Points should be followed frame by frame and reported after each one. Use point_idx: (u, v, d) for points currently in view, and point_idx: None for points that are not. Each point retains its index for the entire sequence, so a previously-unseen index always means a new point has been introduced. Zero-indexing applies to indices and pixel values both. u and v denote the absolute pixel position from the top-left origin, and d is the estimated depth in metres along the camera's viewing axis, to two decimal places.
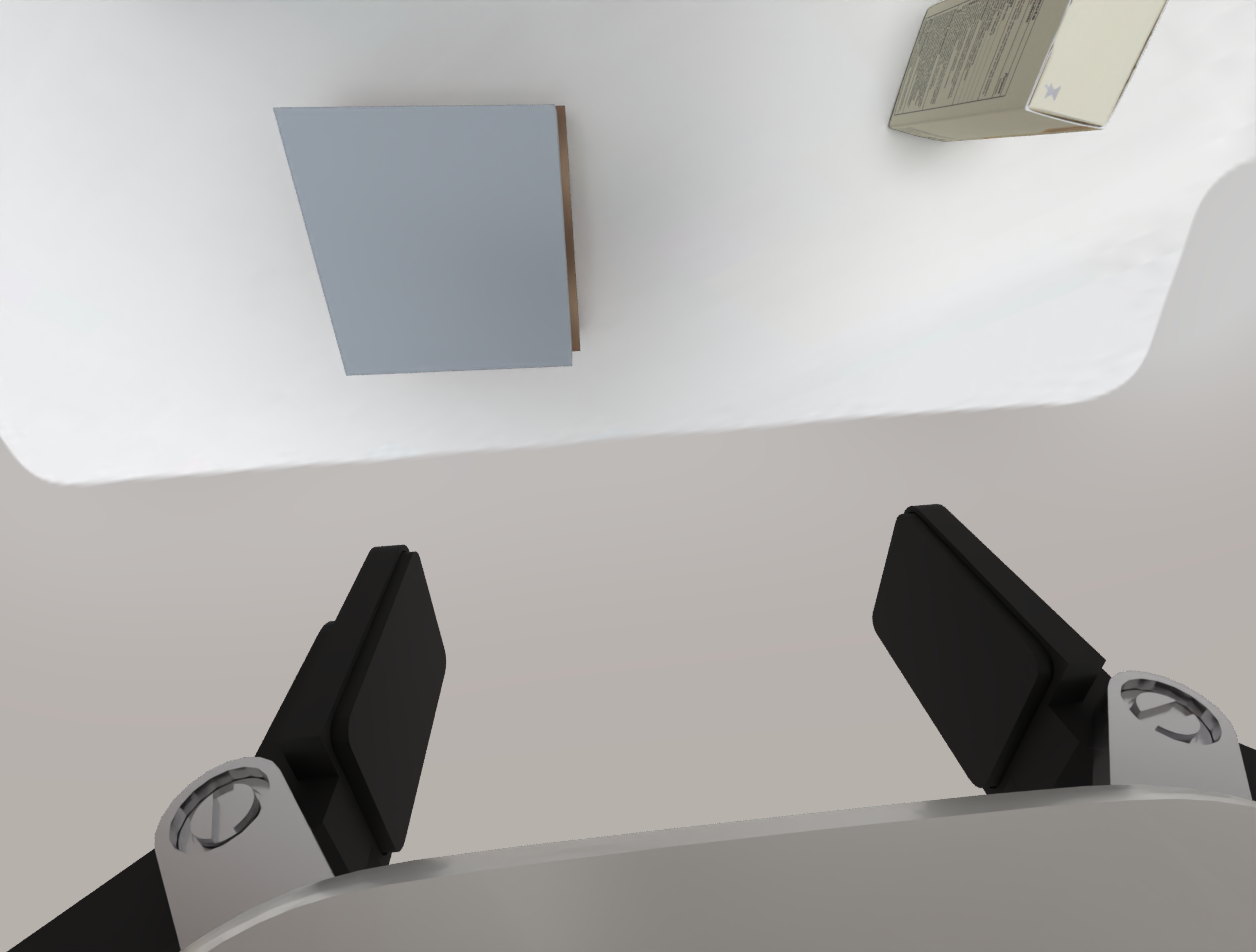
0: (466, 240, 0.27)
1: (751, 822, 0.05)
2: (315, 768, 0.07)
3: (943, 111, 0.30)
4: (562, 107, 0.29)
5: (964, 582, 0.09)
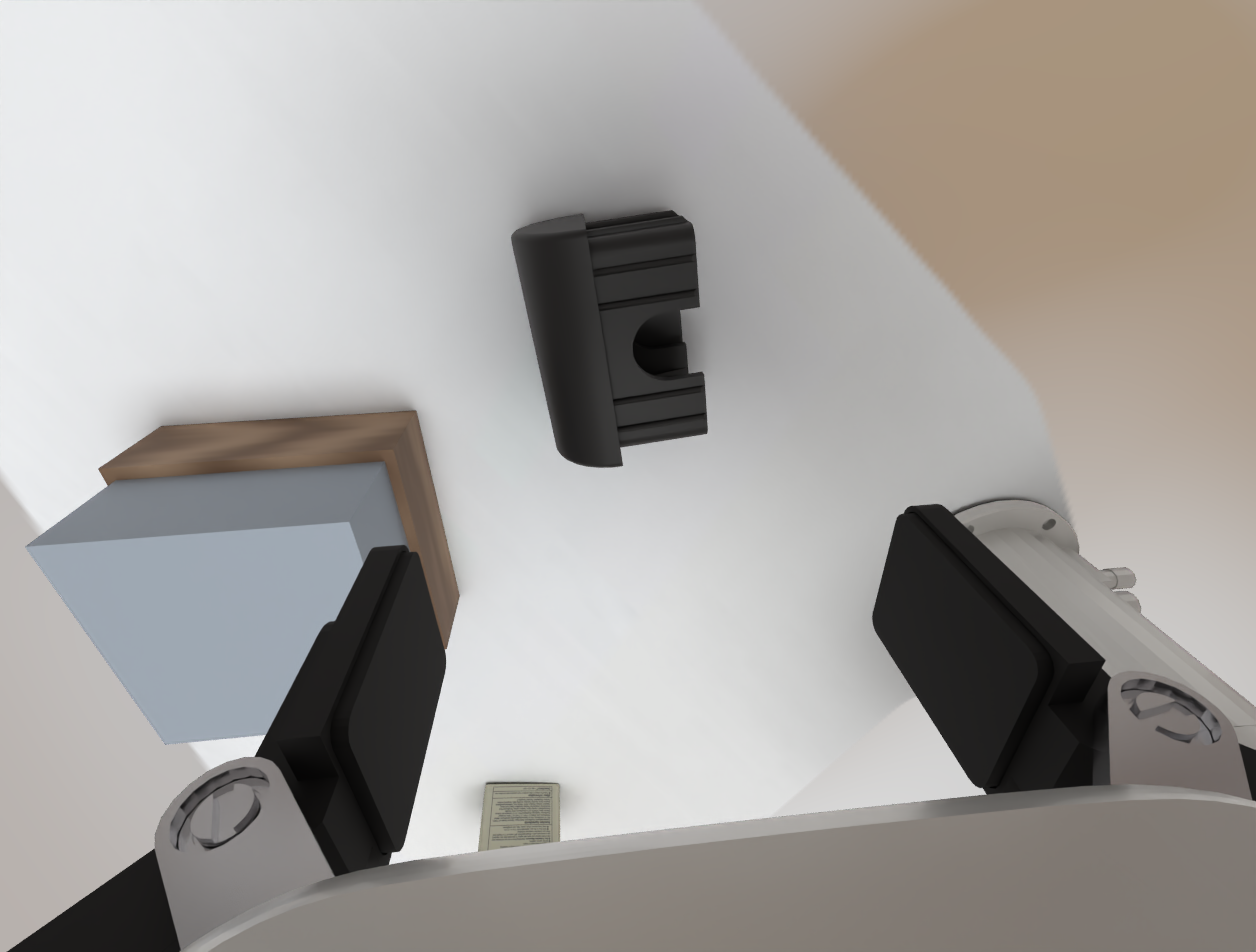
0: (270, 664, 0.26)
1: (751, 822, 0.05)
2: (315, 768, 0.07)
3: None
4: (444, 647, 0.33)
5: (964, 582, 0.09)
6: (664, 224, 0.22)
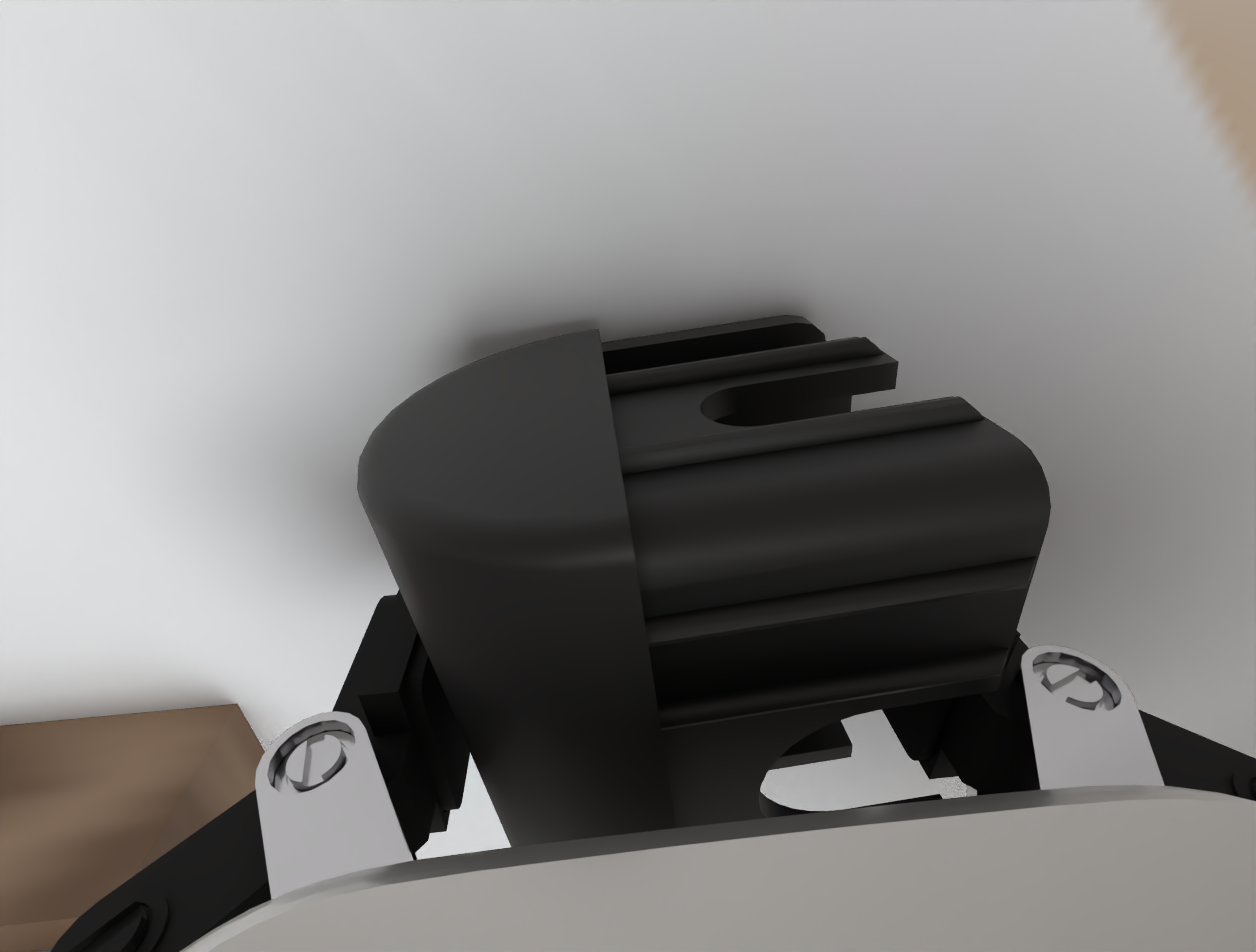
0: None
1: (751, 822, 0.05)
2: (391, 723, 0.07)
3: None
4: None
5: None
6: (900, 429, 0.06)
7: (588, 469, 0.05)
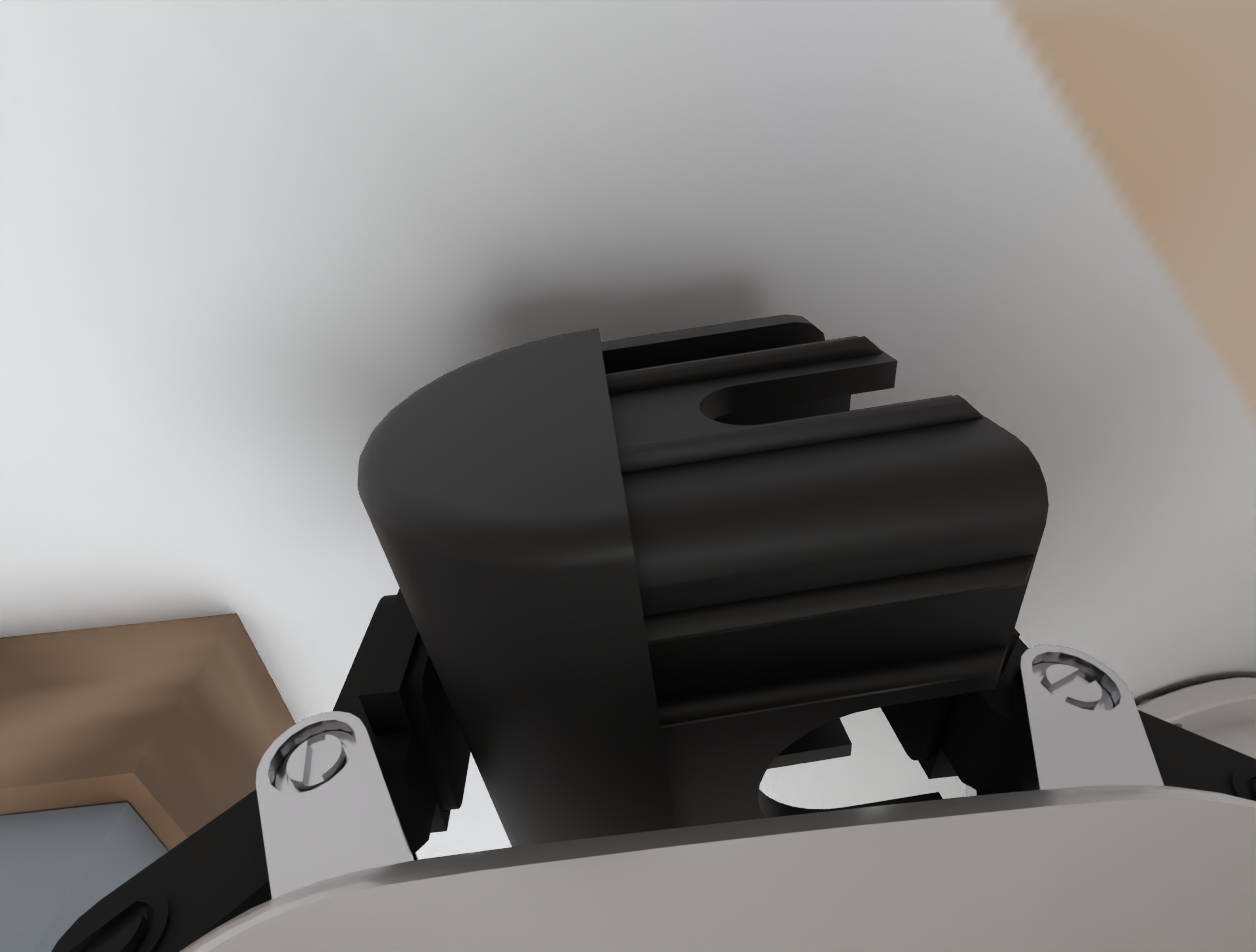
0: None
1: (751, 822, 0.05)
2: (392, 723, 0.07)
3: None
4: None
5: None
6: (899, 427, 0.06)
7: (588, 467, 0.05)
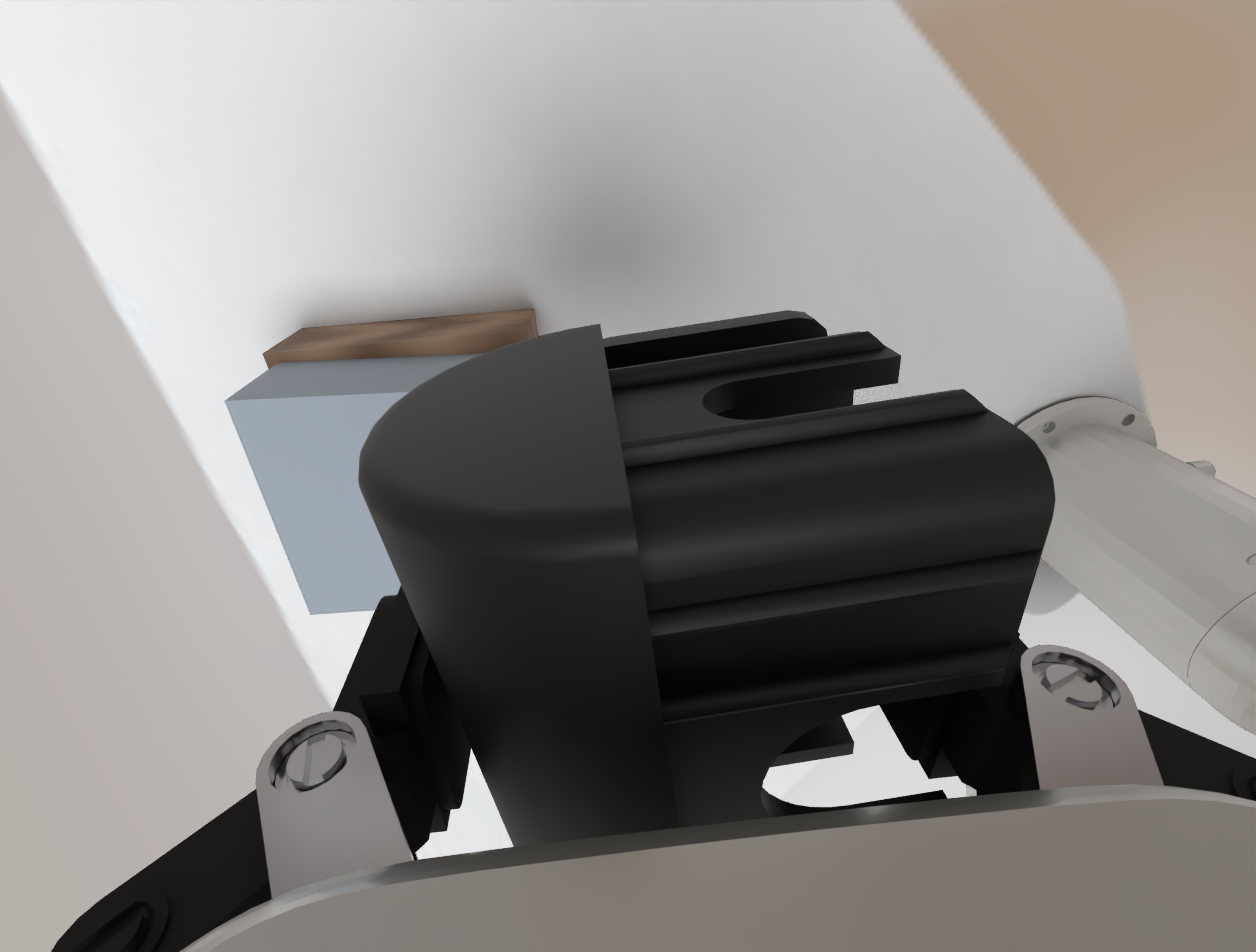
0: None
1: (751, 822, 0.05)
2: (391, 723, 0.07)
3: None
4: None
5: None
6: (903, 421, 0.06)
7: (591, 461, 0.05)
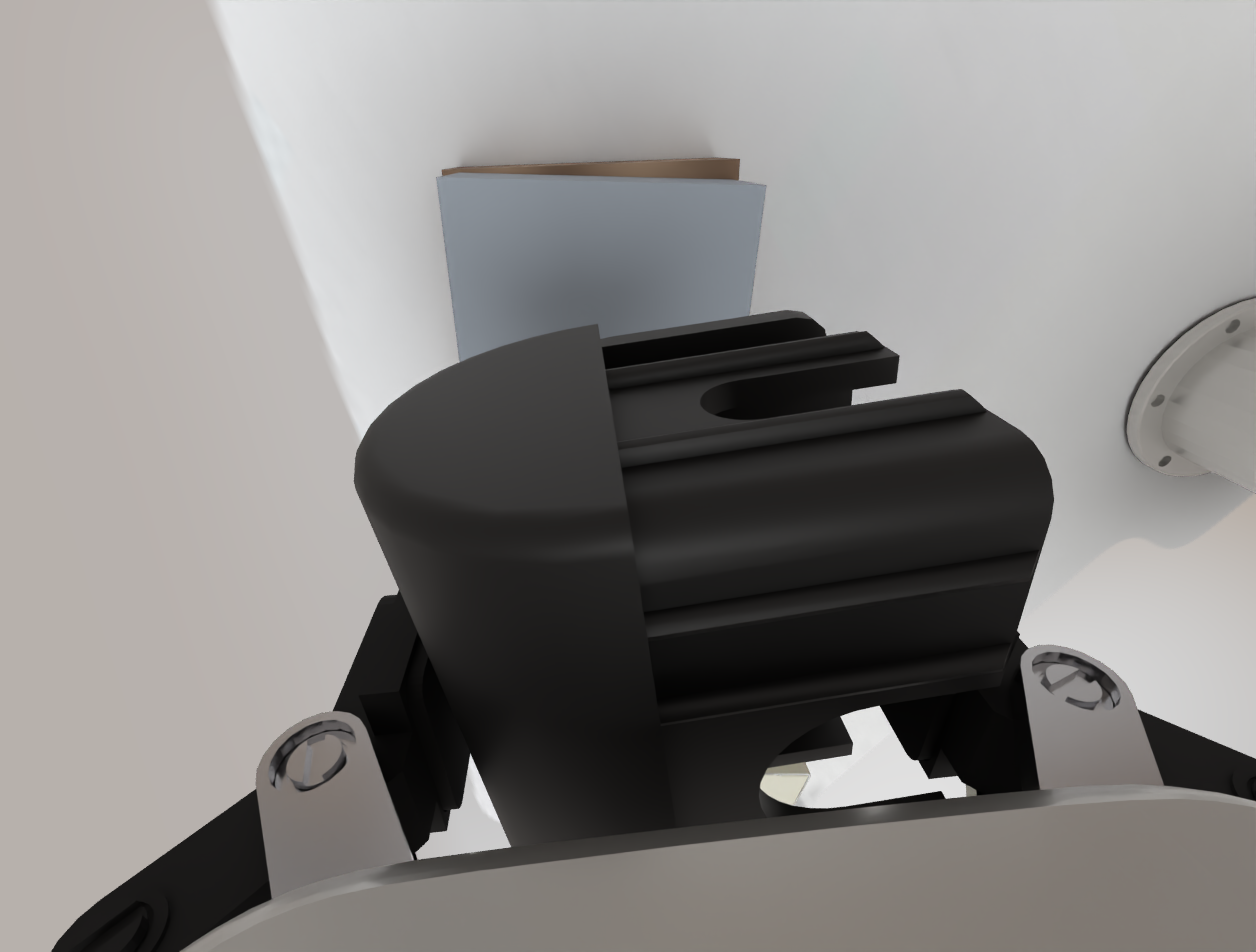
0: None
1: (751, 822, 0.05)
2: (391, 723, 0.07)
3: None
4: None
5: None
6: (902, 421, 0.06)
7: (587, 461, 0.05)
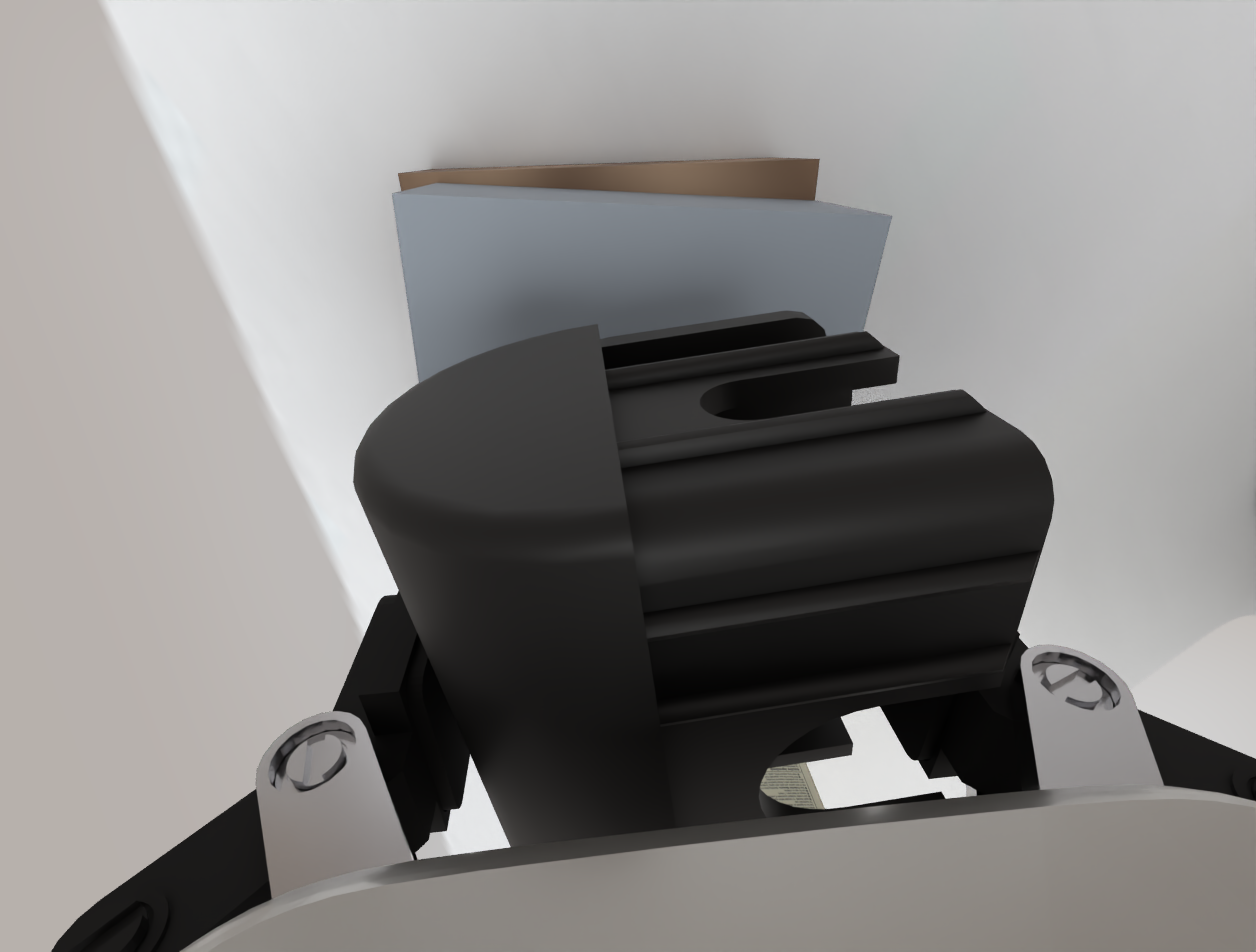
0: None
1: (751, 822, 0.05)
2: (391, 723, 0.07)
3: None
4: None
5: None
6: (902, 422, 0.06)
7: (587, 462, 0.05)
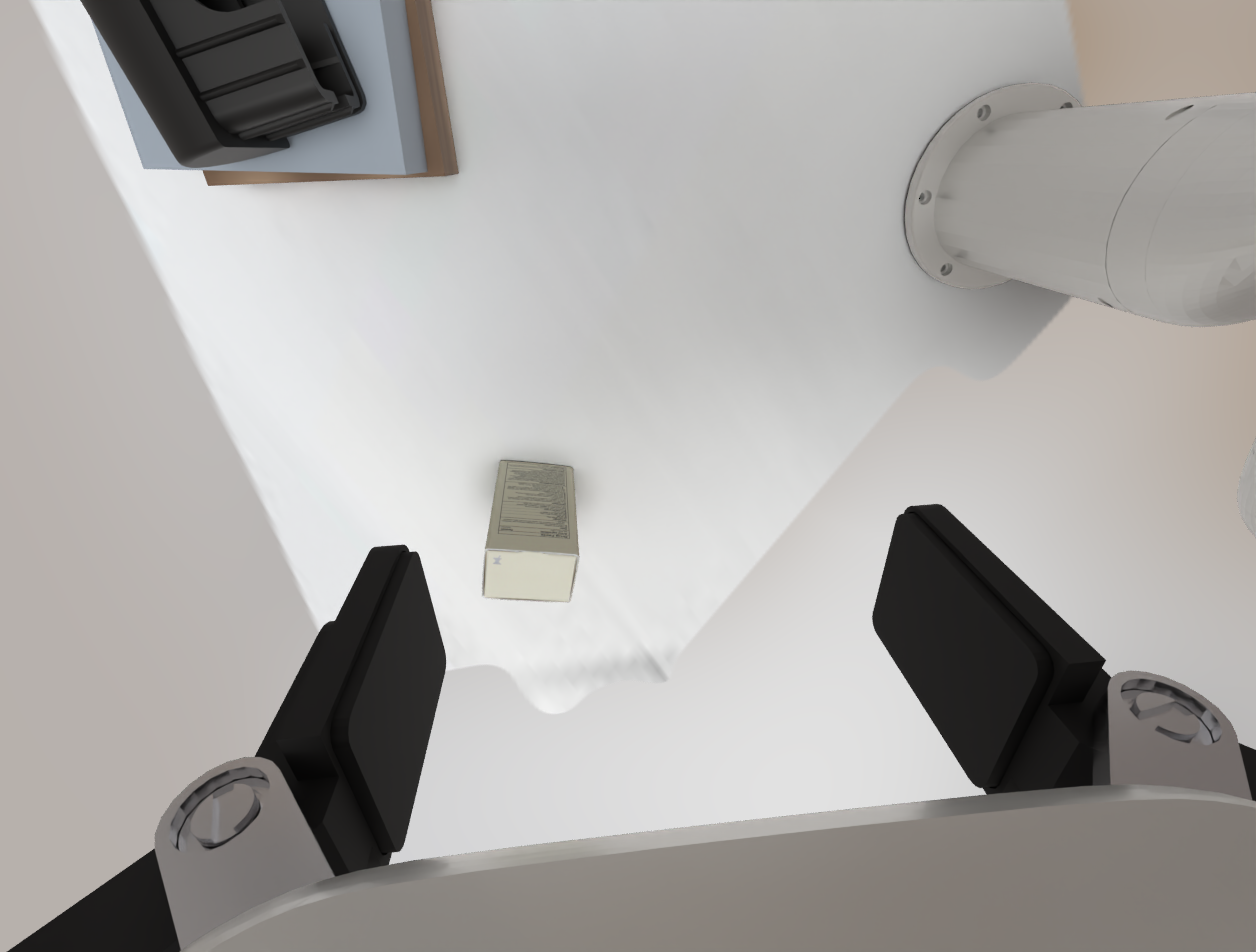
0: None
1: (751, 822, 0.05)
2: (315, 768, 0.07)
3: (499, 496, 0.42)
4: (443, 173, 0.32)
5: (964, 582, 0.09)
6: None
7: None
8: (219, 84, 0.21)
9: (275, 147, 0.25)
